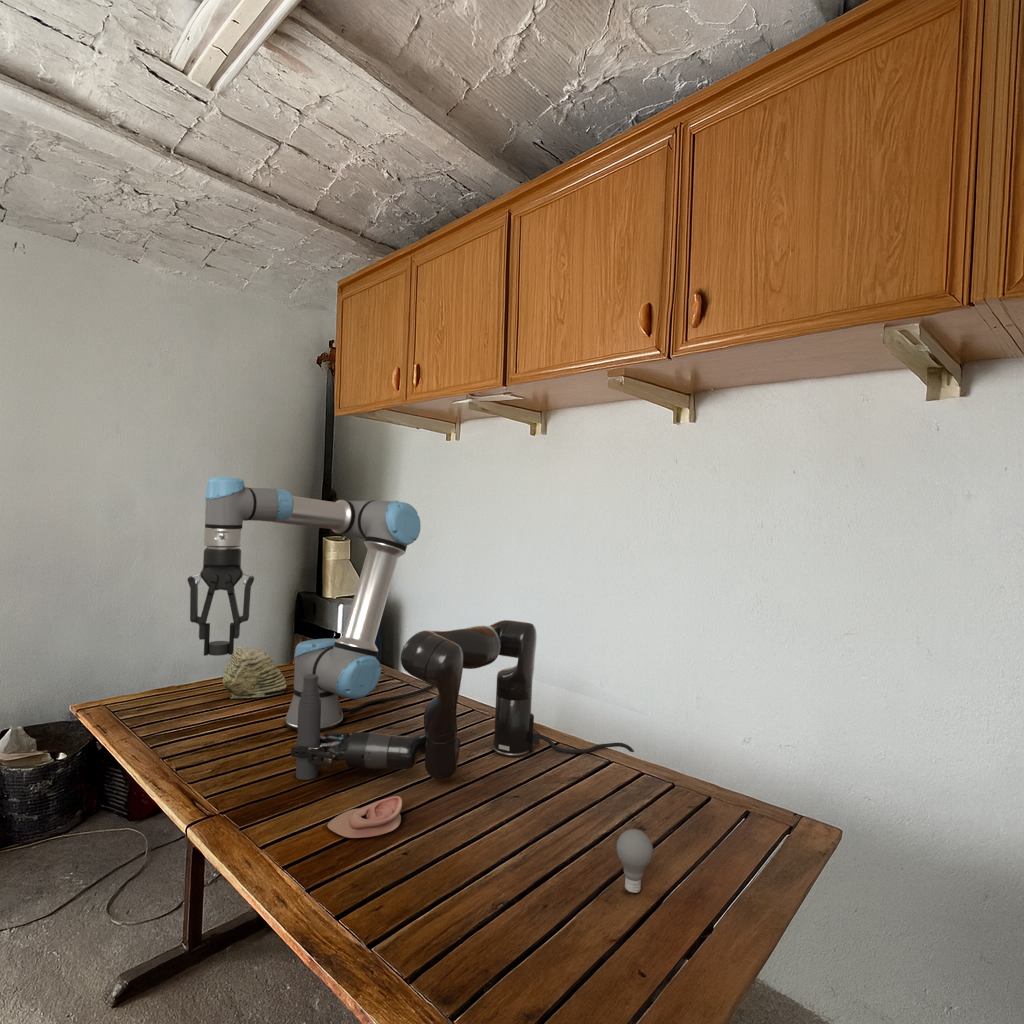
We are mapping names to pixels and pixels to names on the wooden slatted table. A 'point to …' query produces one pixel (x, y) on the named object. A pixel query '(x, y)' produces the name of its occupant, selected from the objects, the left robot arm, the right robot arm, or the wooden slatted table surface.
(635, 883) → the light bulb
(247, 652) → the fossil
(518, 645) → the right robot arm
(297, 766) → the bottle
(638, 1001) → the wooden slatted table surface
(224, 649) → the cap
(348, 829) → the anatomical model
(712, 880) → the wooden slatted table surface
